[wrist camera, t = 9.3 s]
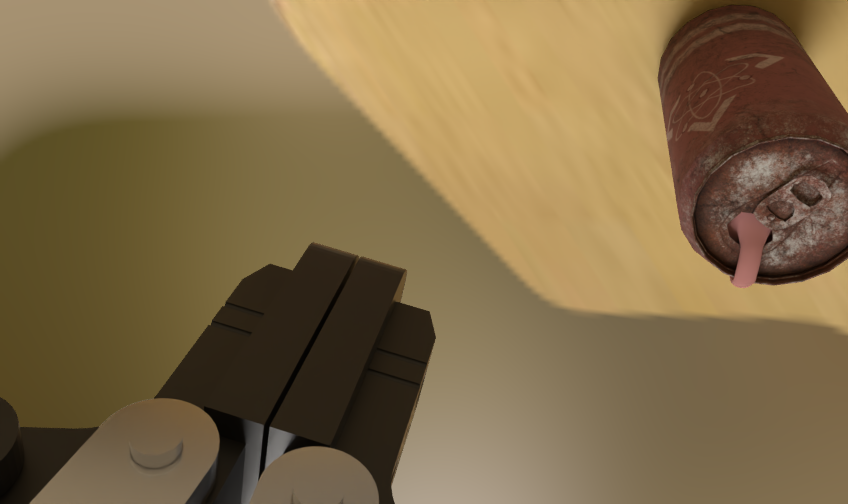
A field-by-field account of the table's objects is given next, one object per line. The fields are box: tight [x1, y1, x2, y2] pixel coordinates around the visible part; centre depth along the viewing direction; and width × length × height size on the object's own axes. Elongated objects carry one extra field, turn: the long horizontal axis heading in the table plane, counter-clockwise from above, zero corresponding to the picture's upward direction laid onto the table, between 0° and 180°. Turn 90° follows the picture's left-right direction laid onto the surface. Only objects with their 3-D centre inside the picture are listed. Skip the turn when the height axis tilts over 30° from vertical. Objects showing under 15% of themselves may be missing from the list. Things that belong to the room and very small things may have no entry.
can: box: [658, 5, 848, 288], centre depth 29 cm, size 6×6×14 cm
